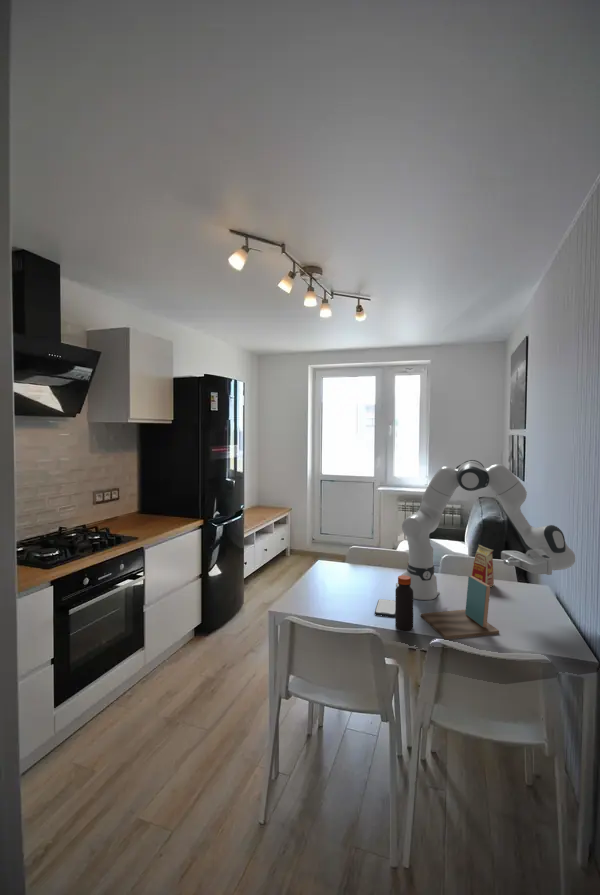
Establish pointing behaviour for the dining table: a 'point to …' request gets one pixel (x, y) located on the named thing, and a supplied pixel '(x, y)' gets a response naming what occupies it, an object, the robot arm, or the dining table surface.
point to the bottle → (404, 604)
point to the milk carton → (483, 566)
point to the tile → (477, 601)
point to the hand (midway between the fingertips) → (505, 562)
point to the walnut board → (457, 624)
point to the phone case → (385, 608)
